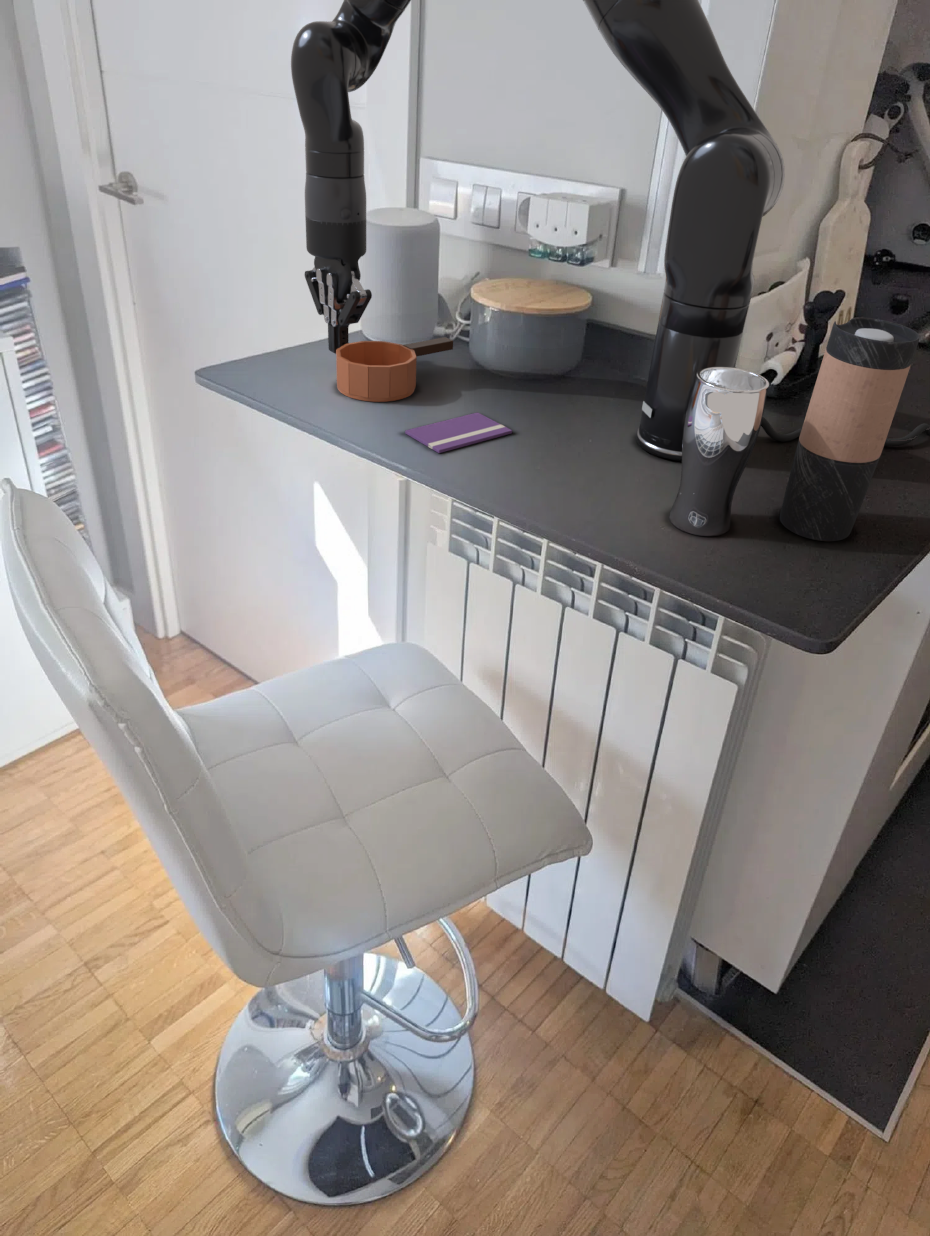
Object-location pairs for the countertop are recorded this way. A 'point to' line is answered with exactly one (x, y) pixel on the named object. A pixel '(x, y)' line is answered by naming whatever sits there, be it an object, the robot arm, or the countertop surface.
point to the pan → (382, 368)
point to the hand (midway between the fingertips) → (338, 351)
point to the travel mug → (846, 426)
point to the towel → (458, 432)
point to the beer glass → (717, 446)
